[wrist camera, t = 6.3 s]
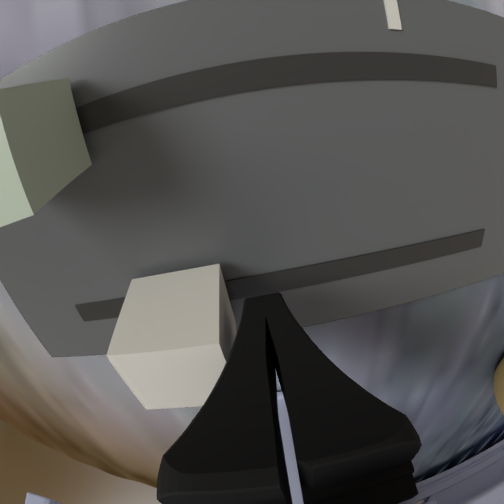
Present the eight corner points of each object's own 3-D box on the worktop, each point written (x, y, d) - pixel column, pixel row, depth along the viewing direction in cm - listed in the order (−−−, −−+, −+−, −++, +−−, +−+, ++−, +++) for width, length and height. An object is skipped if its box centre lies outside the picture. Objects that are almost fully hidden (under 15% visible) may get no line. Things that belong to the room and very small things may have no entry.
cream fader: (235, 319, 14) (241, 401, 10) (159, 331, 14) (146, 409, 10) (219, 259, 12) (218, 343, 9) (133, 275, 12) (106, 355, 9)
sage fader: (94, 162, 10) (33, 215, 6) (21, 189, 10) (-43, 244, 6) (71, 77, 8) (-5, 90, 4) (-2, 116, 8) (-78, 148, 4)
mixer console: (496, 251, 16) (514, 269, 14) (62, 333, 17) (51, 358, 15) (510, 28, 9) (537, 31, 7) (-35, 116, 9) (-62, 126, 8)
